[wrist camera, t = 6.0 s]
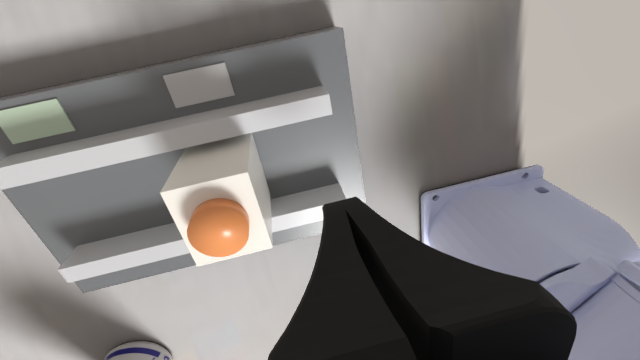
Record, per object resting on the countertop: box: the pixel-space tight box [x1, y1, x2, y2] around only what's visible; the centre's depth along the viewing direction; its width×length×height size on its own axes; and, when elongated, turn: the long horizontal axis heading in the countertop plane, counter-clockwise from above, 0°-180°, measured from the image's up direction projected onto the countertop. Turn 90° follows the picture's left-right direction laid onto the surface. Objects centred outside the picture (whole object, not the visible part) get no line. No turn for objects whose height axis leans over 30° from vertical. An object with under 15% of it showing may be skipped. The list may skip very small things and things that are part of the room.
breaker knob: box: [160, 133, 273, 267], centre depth 15 cm, size 4×4×6 cm
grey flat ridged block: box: [0, 27, 366, 293], centre depth 18 cm, size 19×12×4 cm, turn 101°
